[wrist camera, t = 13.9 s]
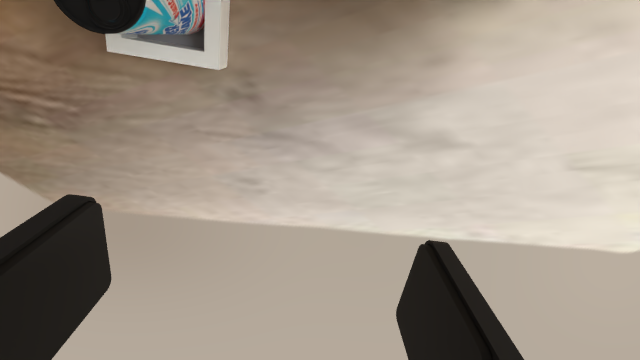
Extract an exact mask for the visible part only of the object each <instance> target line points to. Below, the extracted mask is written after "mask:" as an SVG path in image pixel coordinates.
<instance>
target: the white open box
mask: <svg viewBox="0 0 640 360" xmlns="http://www.w3.org/2000/svg"><path fill="white" fill-rule="evenodd" d="M229 12H230V0H205V27H204V28H203V29H202V30H200V31H199V32H196V33H194V34H188V35H186V34H105V36H106V45H107V51H108V52H114V53H120V54H126V55H132V56H138V57H144V58H150V59H156V60H162V61H168V62H174V63H180V64H186V65H192V66H198V67H204V68H209V69H215V70H220V69H223V68H226V67H227V61H228V36H229Z"/></svg>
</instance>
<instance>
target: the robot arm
mask: <svg viewBox="0 0 640 360" xmlns="http://www.w3.org/2000/svg"><path fill="white" fill-rule="evenodd" d="M110 283H111V271H110V264H109V257H108V250H107V243H106V235H105V228H104V221H103V214H102V208H101V205H100V204H99V203H96V201H95V199H94V198H92V197H87V196H79V195H66V196H64V197H62V198H61V199H59V200H58V201H56V202H55V203H53V204H52V205H50V206H49V207H47V208H45V209H44V210H42V211H41V212H39V213H38V214H36V215H35V216H33V217H31V218H30V219H28V220H27V221H26V222H24V223H22V224H21V225H19V226H18V227H16V228H15V229H13V230H11V231H10V232H8V233H7V234H5V235H4V236H2V237H1V238H0V360H51V359H52V358H53V357H54V356H55V354H56V353H57V352H58V351H59V349H60V348H61V347H62V345H63V344H64V343H65V342H66V341H67V339H68V338H69V337H70V336H71V334H72V333H73V332H74V331H75V329H76V328H77V327H78V326H79V325H80V323H81V322H82V321H83V319H84V318H85V317H86V316H87V315H88V313H89V312H90V311H91V310H92V308H93V307H94V306H95V304H96V303H97V302H98V301H99V300H100V298H101V297H102V296H103V295H104V293H105V292H106V291H107V289H108V288H109V286H110ZM396 317H397V322H398V326H399V329H400V333H401V336H402V339H403V342H404V346H405V349H406V353H407V356H408V360H524V359H523V357H522V356H521V354H520V353H519V351H518V350H517V348H516V346H515V345H514V343H513V342H512V340H511V339H510V337H509V336H508V334H507V333H506V331H505V330H504V328H503V327H502V325H501V323H500V322H499V321H498V319H497V317H496V316H495V314H494V313H493V311H492V310H491V308H490V307H489V305H488V304H487V302H486V300H485V299H484V297H483V296H482V294H481V293H480V292H479V290H478V288H477V287H476V285H475V284H474V282H473V281H472V279H471V278H470V276H469V274H468V273H467V271H466V270H465V268H464V267H463V265H462V264H461V262H460V261H459V259H458V258H457V256H456V255H455V253H454V251H453V250H452V248H451V247H450V245H449V244H448V243H446V242H438V241H430V240H428V241H427V242H426V243H425V244H421V245H420V246H419V248H418V251H417V254H416V256H415V259H414V262H413V265H412V268H411V270H410V273H409V276H408V279H407V281H406V284H405V287H404V290H403V293H402V296H401V299H400V301H399V304H398V307H397V311H396Z"/></svg>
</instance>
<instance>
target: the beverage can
mask: <svg viewBox="0 0 640 360" xmlns="http://www.w3.org/2000/svg"><path fill="white" fill-rule="evenodd" d="M54 1H55V3H56V4H57V6H58V7H59V8H60V9H61V10H62V12H63V13H64V14H65V15H66V16H67V17H69V18H70V19H71V20H72V21H74V22H75V23H76V24H78V25H80V26H81V27H83V28H85V29H87V30H90V31H93V32H96V33H102V34H186V35H188V34H194V33H196V32H199V31H200V30H202V29H203V28H204V27H205V0H54Z"/></svg>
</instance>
